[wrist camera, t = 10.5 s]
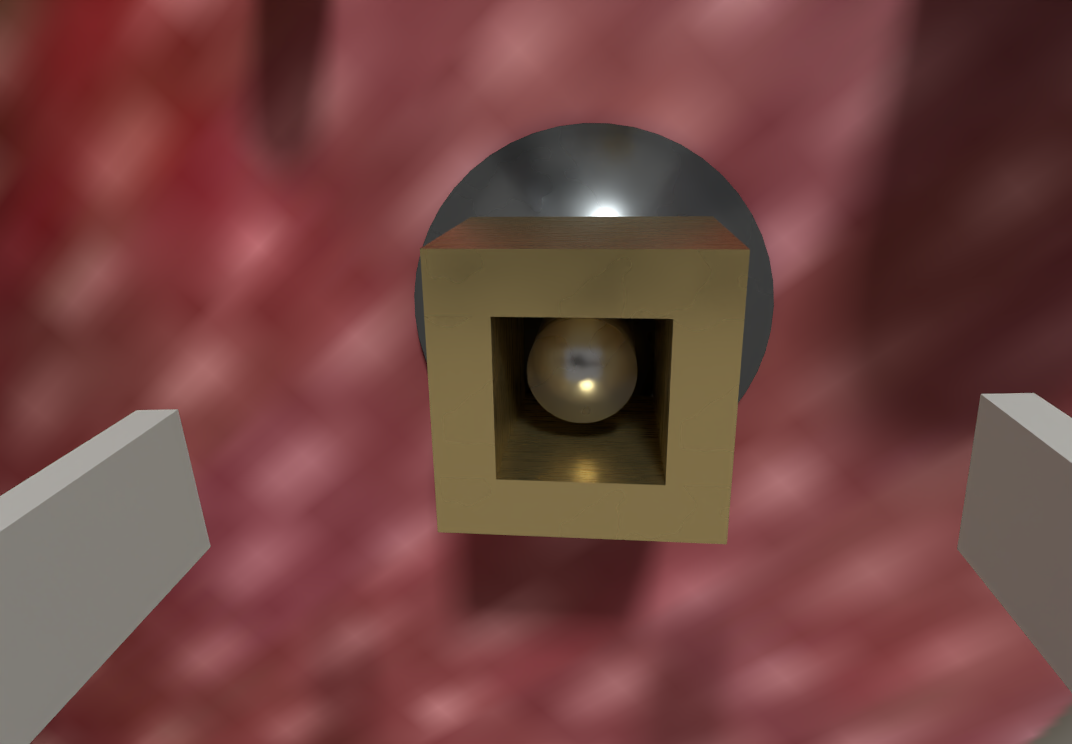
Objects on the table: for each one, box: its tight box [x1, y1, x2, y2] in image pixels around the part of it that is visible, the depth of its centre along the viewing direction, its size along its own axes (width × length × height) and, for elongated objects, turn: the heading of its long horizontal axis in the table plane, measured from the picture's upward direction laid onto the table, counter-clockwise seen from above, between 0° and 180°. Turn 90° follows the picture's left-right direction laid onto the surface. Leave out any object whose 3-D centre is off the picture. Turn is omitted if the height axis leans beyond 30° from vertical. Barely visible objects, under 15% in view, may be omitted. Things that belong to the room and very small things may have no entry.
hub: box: [414, 123, 774, 423], centre depth 22 cm, size 12×12×7 cm
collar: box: [420, 216, 750, 544], centre depth 19 cm, size 7×7×6 cm
